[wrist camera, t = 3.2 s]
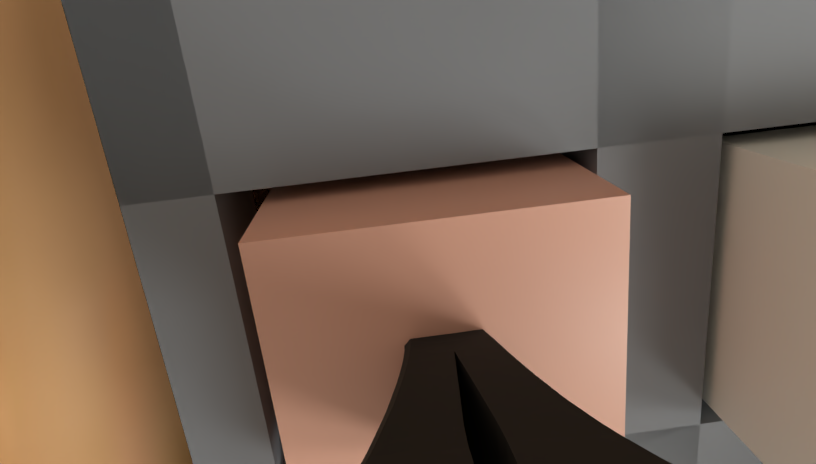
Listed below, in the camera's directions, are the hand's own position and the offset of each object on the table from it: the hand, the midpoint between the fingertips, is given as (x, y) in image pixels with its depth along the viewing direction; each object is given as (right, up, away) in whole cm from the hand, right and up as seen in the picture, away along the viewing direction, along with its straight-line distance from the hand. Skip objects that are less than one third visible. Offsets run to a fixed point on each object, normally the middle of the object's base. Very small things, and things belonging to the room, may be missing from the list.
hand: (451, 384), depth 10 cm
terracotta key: (0, +1, +4) cm, 4 cm away
